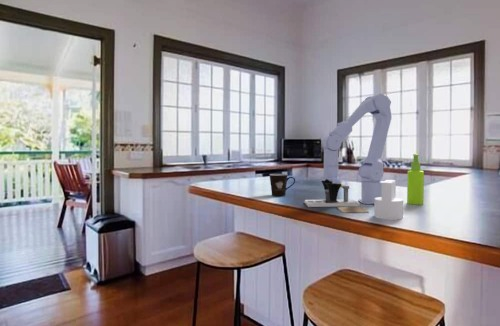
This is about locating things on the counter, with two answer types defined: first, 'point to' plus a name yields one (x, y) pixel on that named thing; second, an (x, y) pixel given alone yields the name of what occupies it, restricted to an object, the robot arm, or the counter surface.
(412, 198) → the soap dispenser
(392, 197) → the base with upright slab
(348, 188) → the clip
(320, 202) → the power strip
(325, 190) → the plug
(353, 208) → the coaster
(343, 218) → the counter surface
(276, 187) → the coffee mug
